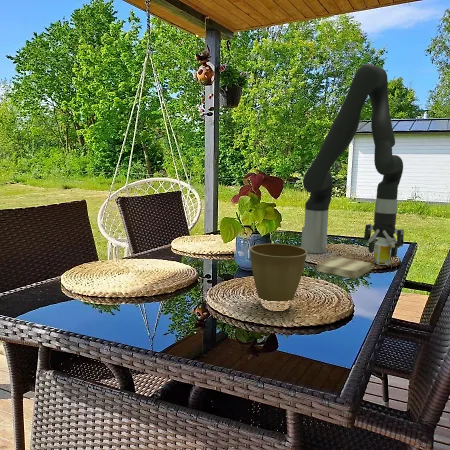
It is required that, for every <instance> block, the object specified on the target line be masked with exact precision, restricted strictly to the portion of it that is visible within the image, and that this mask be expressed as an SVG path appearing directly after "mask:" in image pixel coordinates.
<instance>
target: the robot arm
mask: <svg viewBox="0 0 450 450" xmlns="http://www.w3.org/2000/svg"><path fill="white" fill-rule="evenodd" d="M388 83H389V81H388V74H387V72H386V70H385V69H384V68H383V67H381V66H378V65H375V64H373V63H365V64H363V65H361V66H360V67H359V68H357V71H356V72H355V73H354V76H353V79H352V82H351V84H350V86H349V88H348V89H349V90H348V92H347V95H346V97H345V98H344V101H343V103H342V105H341V106H340V109H339V111H338V113H337V114H336V117H335V119H334V121H333V122H332V125H331V126H330V128H329V130H328V133H327V135H326V136H325V139H324V141H323V143H322V145H321V147H320V148H319V150H318V152H317V154H316V157H315V158H314V159H313V161H312V163H311V165H310V166H309V167H308V169H307V171H306V172H305V174H304V177H303V178H302V179H303V180H302V185H303V189H304V190H305V191H306V192H308V193H310V196H309V198H308V199H307V201H305V203H304V204H305V205H304V209H305V210H304V224H303V226H302V228H301V241H300V243H301V244H300V245H301V247H300V248H303V249H305V250H306V251H307V254H308V253H309V254H317V253H318V254H325V253H326V252H327V241H328V222H329V206H330V204H331V203H332V194H333V184H334V183H333V182H334V181H333V176H332V174H331V172H330V171H331V168H332V166H333V165H334V164H335V162H336V161H337V160H338V159H339V158H340V157H341V156H342V154H343V153H344V152H346V150H347V149H348V147H349V146H350V145H351V143H352V141H353V139H354V137H355V136H356V134H357V131H358V129H359V124H360V120H361V112H362V110H363V107H364V104H365V102H366V100H367V99H368V97H369V100H370V104H371V122H370V124H371V126H370V128H371V134H372V135H371V136H372V139H373V143H374V158H373V159H374V160H373V161H374V167H375V170H376V171H377V173H378V174H379V175H381V176H383V177H382V179H381V181H380V182H378V184H377V189H376V199H375V204H374V215H373V217H374V218H373V225H372V223H369V224H365V228H364V235H363V236H364V237H363V240H364V241H367V242H368V249H367V250H368V251H369V253H370V254H372V253H374V249H375V242H376V240H377V239H378V237H381V238H386V239H387V240H388V241H389V243H390V244H391V250H390V258H395V257H397V255H398V248H400V247H402V246H404V238H405V237H404V235H405V234H404V233H405V231H404V229H403V228H401V229H400V228H399V229H398V228H397V229H396V224H397V214H398V213H397V212H398V194H399V193H398V192H399V189H398V188H399V185H400V183H401V182H400V181H401V179H402V176H403V172H404V162H403V159H402V158H401V156H399V155H397V154H393V147H394V146H395V145H396V137H395V133H394V129H393V128H394V127H393V124H392V119H391V111H390V103H389V101H390V100H389V85H388ZM372 231H373V232H374V233H373V234H372Z"/></svg>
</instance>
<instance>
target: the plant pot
mask: <svg viewBox="0 0 450 450" xmlns="http://www.w3.org/2000/svg"><path fill="white" fill-rule="evenodd" d="M249 254H250V262H251V270H252V276H253V281H254V285H255V290H256V293H257V296H258V299H259V298H261V299H263V300H267V301H288V300H292V299H293V300H294V298H295V295H296V293H297V290H298V288H299V285H300V282H301V280H302V275H303V273H304V268H305V263H306V259H307V254H308V252H307V251H306V250H305V249H303V248H301V247H300V246H296V245H292V244H286V243H285V244H284V243H283V244H282V243H260V244H255V245H252V246H250V247H249ZM293 300H292V301H293Z"/></svg>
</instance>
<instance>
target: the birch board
mask: <svg viewBox="0 0 450 450" xmlns="http://www.w3.org/2000/svg"><path fill="white" fill-rule="evenodd" d="M372 265H373V264H372V262H368V261H361V260H358V259H357V260H356V259H351V258H345V257H340V256H339V257H338V256H332V257H330V258H328V259H325V260H323V261H320V262H318V263H317V264H316V272H320V273H325V274H330V275H335V276H341V277H343V278H344V277H345V278H349V279H353V280H354V279H355V280H357V279H358V278H360V277H362V276H363V275H365V274H366V273H368V272H370V271H372Z"/></svg>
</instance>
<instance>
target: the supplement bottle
mask: <svg viewBox="0 0 450 450" xmlns="http://www.w3.org/2000/svg"><path fill="white" fill-rule="evenodd" d="M376 240H377V241H374V243H375V245H374V252H373V253H374V254H373V264H374V263H376V264H379V265H387V266H389V265H390V261H391V247H392V245H391V244H390V242H389V241H388V240H387V239H386V238H381V237H378V238H377V239H376ZM379 265H378V266H379Z"/></svg>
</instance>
